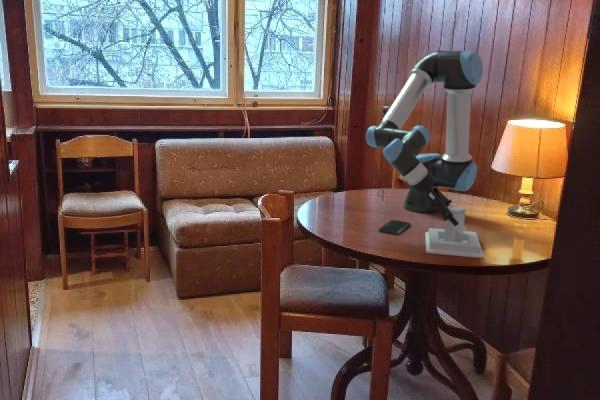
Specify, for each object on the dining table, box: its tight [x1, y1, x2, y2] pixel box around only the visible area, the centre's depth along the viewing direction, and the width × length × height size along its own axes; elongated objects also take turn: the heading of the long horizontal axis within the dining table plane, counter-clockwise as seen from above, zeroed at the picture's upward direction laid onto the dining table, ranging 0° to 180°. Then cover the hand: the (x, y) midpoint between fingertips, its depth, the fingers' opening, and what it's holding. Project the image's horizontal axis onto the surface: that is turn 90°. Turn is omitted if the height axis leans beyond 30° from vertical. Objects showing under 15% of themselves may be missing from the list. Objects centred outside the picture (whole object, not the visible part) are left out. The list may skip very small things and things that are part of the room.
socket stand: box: [424, 227, 485, 259], centre depth 181 cm, size 20×18×3 cm
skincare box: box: [443, 206, 466, 242], centre depth 180 cm, size 6×4×12 cm
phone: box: [378, 219, 411, 236], centre depth 199 cm, size 8×1×15 cm
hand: (461, 225), depth 179 cm, fingers open, 13 cm apart
